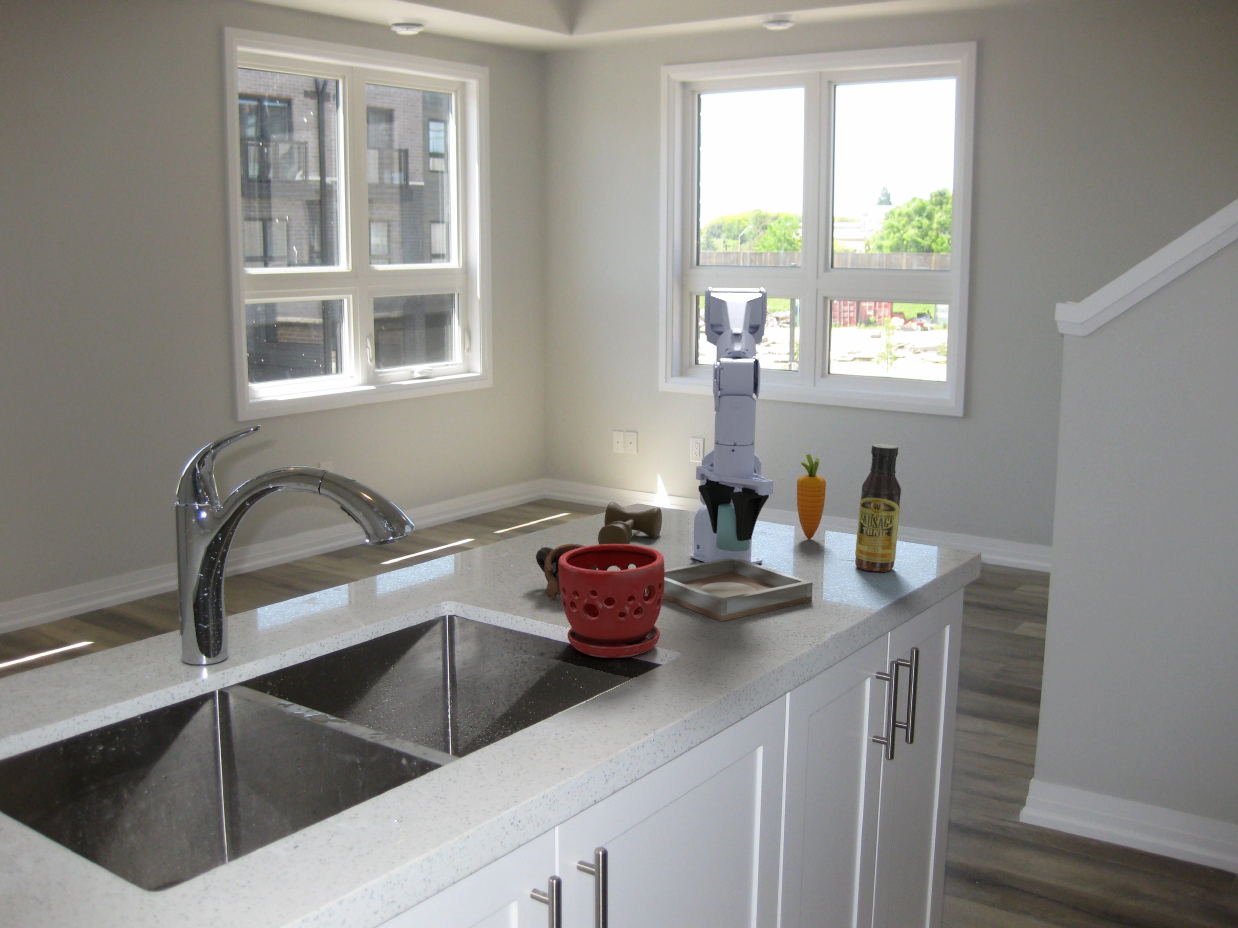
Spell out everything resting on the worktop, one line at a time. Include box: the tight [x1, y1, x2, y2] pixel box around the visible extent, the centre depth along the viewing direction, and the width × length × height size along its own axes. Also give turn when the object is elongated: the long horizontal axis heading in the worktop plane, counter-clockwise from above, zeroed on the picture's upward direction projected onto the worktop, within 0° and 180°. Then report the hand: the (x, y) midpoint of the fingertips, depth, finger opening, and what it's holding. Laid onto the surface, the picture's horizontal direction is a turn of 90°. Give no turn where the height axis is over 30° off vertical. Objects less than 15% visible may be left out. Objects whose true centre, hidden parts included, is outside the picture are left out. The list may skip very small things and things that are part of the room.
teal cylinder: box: [716, 504, 750, 551], centre depth 166 cm, size 5×5×6 cm
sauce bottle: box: [854, 443, 902, 573], centre depth 182 cm, size 7×6×20 cm
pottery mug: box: [535, 543, 598, 601], centre depth 168 cm, size 12×10×8 cm
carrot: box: [796, 453, 827, 540], centre depth 201 cm, size 5×5×15 cm
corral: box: [645, 557, 813, 622], centre depth 167 cm, size 17×17×3 cm
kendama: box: [597, 501, 663, 545], centre depth 200 cm, size 6×10×20 cm
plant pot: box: [558, 543, 666, 659], centre depth 143 cm, size 13×13×12 cm
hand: (731, 536), depth 166 cm, fingers closed on teal cylinder, 5 cm apart
